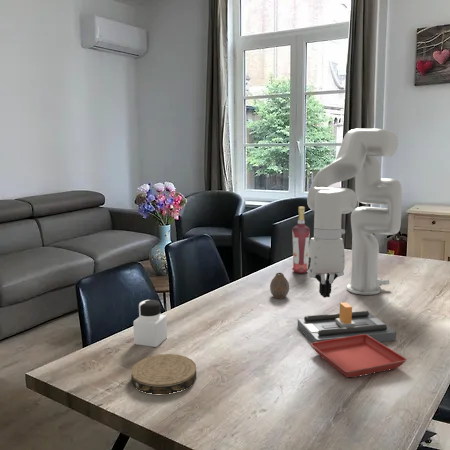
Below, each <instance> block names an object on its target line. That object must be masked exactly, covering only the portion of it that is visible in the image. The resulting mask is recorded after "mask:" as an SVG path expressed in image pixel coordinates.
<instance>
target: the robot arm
mask: <svg viewBox="0 0 450 450" xmlns="http://www.w3.org/2000/svg"><path fill="white" fill-rule="evenodd" d="M398 142H399V140H398V136H397V134H396V133H395V131H393V130H389V129H385V128H353V129H350V130H348V131H347V132H346V133H345V135H344V137H343V140H342V142H341V144H340V148H339V150H338V153H337V156H336V158H335V160H334V161H333V162H331V163H329V164H327V165H326V166H325V167H322V169H321V170H319V171H318V172H317V173H316V175H314V177H313V179H312V182H311V185H310V187H309V189H308V192H307V198H306V202H307V206H308V208H309V209H310V210H311V211H313V212H314V214H313V215H314V218H313V221H314V222H313V237H311V238H310V239H309V249H308V256H307V269H308V271H307V276H308V277H309V278H312V279H316V281H318V282H319V287H318V289H319V290H318V291H319V294H320V296H322V297H323V298H325V299H326V298H330V297H331V293H332V284H333V283H334V281H335V280H336V279H337V278H340V277H342V276H344V275H345V269H346V268H345V266H346V265H345V263H346V262H345V261H346V258H345V257H346V255H345V245H344V239H343V238H342V235H345V234H346V229H345V228H342V215H343V214H344V215H346V214H347V215H348V214H350V213H351V214H350V225H351V234H352V240H351V241H352V245H351V268H350V283H349V282H348V284H346V287H345V288H346V290H347V291H348V292H350V293H352V294H356V295H364V296H373V295H377V294H380V293H381V292H382V285H383V286H384V285H385V286H388V285H390V280H389V279H383V278H379V277H378V273H379V248H380V246H379V242H378V239H377V238H376V236H375V235H388V236H393V235H396V234H399V232H400V229H401V226H402V205H403V204H402V201H403V189H402V185H401V182H400V181H399V180H398V179H396V178H392V177H391V178H390V177H389V178H386V177H381V161H380V160H379V159H378V157H389V158H390V157H392V156H394V155H395V153H396V152H397V150H398V145H399V143H398ZM352 178H355V179H354V180H355V185H354V186H355V191H354V189H351V188H349V187H335V186H332V185H334V184H337V183H340V182H343V181H347V180H350V179H352ZM358 203H361V204H366V205H377V206H381V205H382V206H386V207H376V206H358V207H357V205H358Z"/></svg>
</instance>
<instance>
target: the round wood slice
mask: <svg viewBox="0 0 450 450" xmlns="http://www.w3.org/2000/svg"><path fill="white" fill-rule="evenodd" d="M130 375H131V385H132V384H133V385H132V386H133V387H135V388H137V389H138V390H140V391H143V392H146V393H152V394H169V393H173V392H177V391H181V390H184V389H186V388H188V389H190V388H191V387H192V386H193V385H194V384H196V380H197V377H198V376H197V364H196V362H195V361H194V360H193V359H191V358H189V357H188V356H183V355H180V354H172V353H165V354H154V355H152V356H148V357H144V358H143V359H140V360H139V361H137V362H135V363H134V365H133V366H132V368H131V372H130ZM191 385H192V386H191ZM190 386H191V387H190ZM189 387H190V388H189ZM135 388H134V389H135ZM137 389H136V390H137ZM138 390H137V391H138ZM186 390H187V389H186ZM140 391H139V392H140ZM184 391H185V390H184ZM146 393H145V394H146Z"/></svg>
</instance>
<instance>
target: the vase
mask: <svg viewBox="0 0 450 450" xmlns="http://www.w3.org/2000/svg"><path fill="white" fill-rule="evenodd" d="M289 290H290V283H289V281H288V279H287V278H286V276H285V275H284V273H283V272H276V273H275V276H274V277H273V278H272V279H271V281H270V283H269V291H270V293H271V295H272V296H273V297H274V298H275V299H284V298H286V297H287V295H289Z"/></svg>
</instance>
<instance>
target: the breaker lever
mask: <svg viewBox="0 0 450 450" xmlns="http://www.w3.org/2000/svg"><path fill="white" fill-rule="evenodd" d="M352 312H353V306H352V305H350V304H349V303H348V302H339V313H340V315H339V318H336V321H335V322H336V323H337V324H338V325H339V326H340V327H341V328H349V327H355V323H354V322H353V321H352Z"/></svg>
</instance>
